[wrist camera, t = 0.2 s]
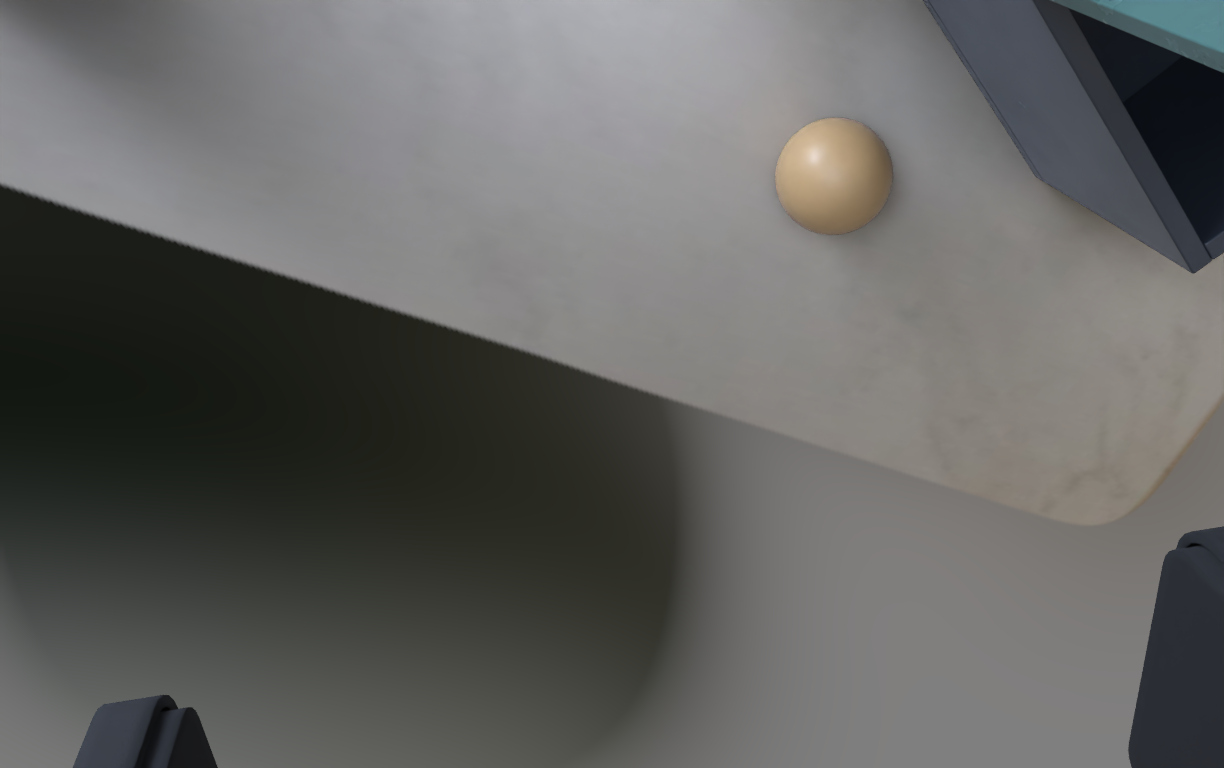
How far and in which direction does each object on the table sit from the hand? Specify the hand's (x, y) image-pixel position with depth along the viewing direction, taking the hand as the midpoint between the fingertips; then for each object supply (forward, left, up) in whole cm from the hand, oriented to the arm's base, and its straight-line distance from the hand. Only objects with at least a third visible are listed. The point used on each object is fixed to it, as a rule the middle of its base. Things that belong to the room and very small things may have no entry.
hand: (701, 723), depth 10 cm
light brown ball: (+13, +6, -35) cm, 37 cm away
